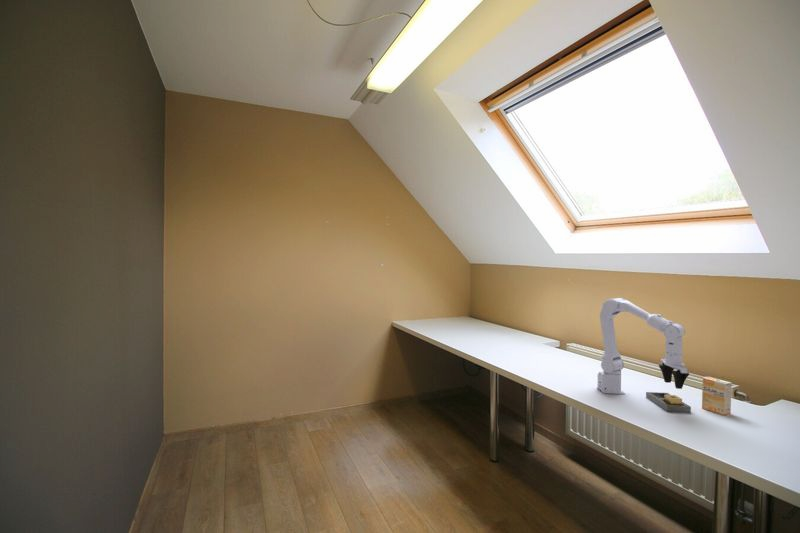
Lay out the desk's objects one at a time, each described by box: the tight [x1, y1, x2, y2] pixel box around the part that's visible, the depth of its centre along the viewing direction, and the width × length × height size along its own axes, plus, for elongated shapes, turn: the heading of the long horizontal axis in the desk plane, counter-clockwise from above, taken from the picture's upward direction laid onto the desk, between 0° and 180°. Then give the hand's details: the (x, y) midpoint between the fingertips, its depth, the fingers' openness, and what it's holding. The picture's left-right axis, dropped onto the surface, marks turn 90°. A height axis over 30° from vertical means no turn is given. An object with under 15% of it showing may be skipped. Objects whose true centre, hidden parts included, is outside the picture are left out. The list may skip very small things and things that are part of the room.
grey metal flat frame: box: [645, 391, 692, 414], centre depth 162 cm, size 9×16×2 cm, turn 174°
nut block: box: [664, 394, 683, 405], centre depth 158 cm, size 4×4×5 cm
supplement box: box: [701, 376, 733, 416], centre depth 155 cm, size 8×5×13 cm, turn 23°
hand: (673, 385), depth 158 cm, fingers open, 7 cm apart
